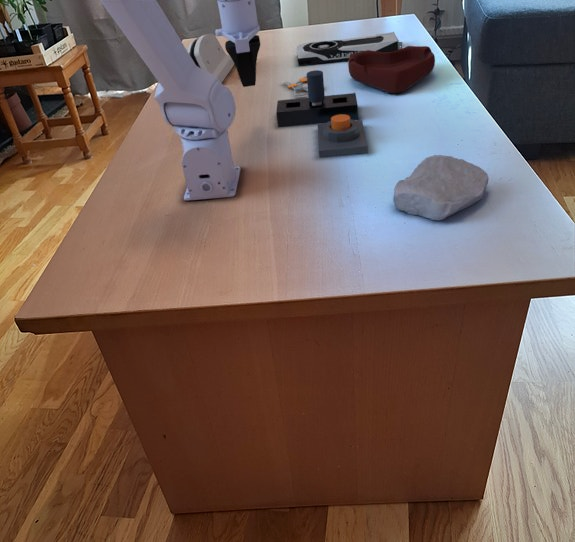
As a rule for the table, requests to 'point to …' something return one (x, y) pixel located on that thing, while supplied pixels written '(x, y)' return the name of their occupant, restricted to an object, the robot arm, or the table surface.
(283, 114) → the holder
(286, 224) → the table surface
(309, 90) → the grey and white cylinder
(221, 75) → the hinge
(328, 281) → the table surface
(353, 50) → the graphics card
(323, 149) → the station
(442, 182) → the stone block
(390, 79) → the ashtray
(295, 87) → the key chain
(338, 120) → the power button
